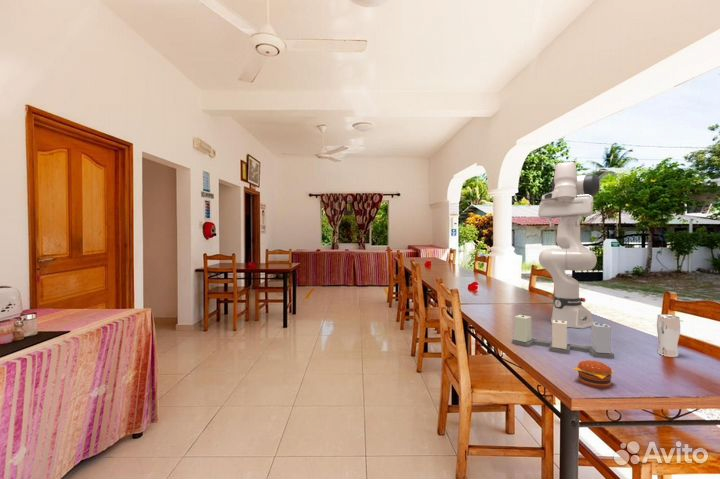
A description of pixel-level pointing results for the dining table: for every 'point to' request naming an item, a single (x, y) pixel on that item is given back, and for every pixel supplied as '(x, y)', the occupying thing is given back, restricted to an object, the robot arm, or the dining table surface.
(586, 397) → the dining table surface
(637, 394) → the dining table surface
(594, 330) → the key three dots
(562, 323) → the key two dots
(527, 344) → the grey flat piece
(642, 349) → the dining table surface
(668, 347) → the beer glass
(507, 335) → the dining table surface
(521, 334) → the key one dot
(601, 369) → the hamburger
